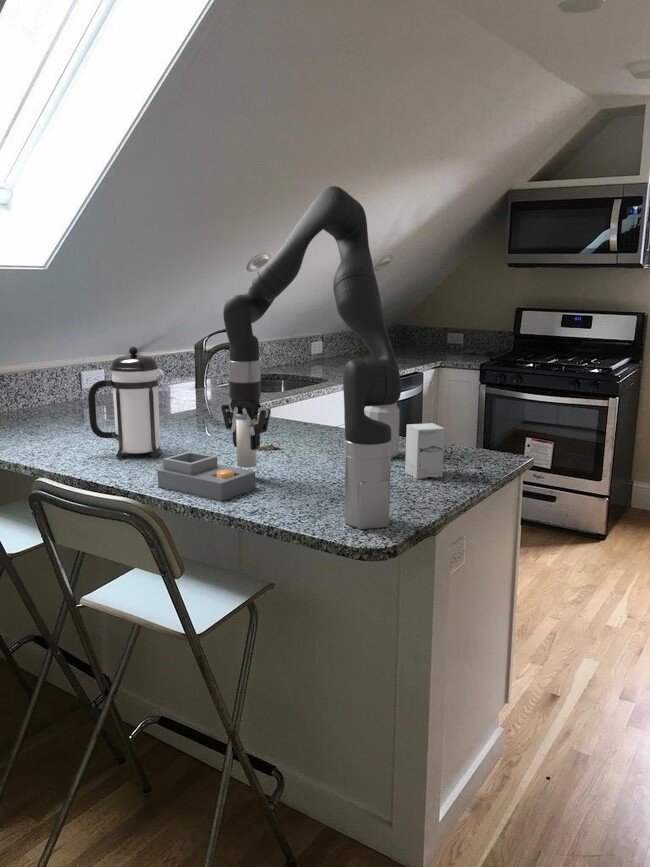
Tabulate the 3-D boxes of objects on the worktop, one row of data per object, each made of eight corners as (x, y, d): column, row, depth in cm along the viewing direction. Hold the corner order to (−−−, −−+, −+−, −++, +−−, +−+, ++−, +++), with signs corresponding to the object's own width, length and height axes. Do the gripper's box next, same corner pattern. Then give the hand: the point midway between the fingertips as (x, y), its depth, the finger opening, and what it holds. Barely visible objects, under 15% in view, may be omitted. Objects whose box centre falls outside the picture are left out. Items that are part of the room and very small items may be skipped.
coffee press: (142, 444, 217) (136, 342, 211) (177, 453, 207) (172, 346, 201) (90, 456, 204) (83, 347, 197) (125, 465, 194) (118, 351, 188)
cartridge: (238, 468, 179) (237, 415, 176) (235, 463, 183) (234, 411, 180) (258, 466, 180) (257, 414, 177) (255, 461, 184) (254, 410, 182)
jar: (401, 453, 208) (402, 389, 204) (395, 461, 199) (396, 395, 195) (367, 450, 210) (368, 388, 206) (359, 459, 201) (360, 393, 197)
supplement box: (416, 480, 181) (417, 429, 179) (404, 472, 188) (405, 423, 185) (443, 477, 183) (445, 427, 181) (431, 470, 190) (432, 422, 187)
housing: (255, 488, 174) (255, 461, 173) (221, 500, 164) (220, 472, 163) (193, 475, 185) (192, 449, 184) (158, 486, 175) (156, 460, 174)
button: (238, 488, 172) (237, 471, 171) (226, 492, 169) (226, 475, 168) (225, 485, 174) (224, 468, 173) (213, 489, 171) (213, 472, 170)
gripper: (278, 379, 176) (279, 449, 180) (232, 374, 184) (234, 441, 187) (258, 383, 170) (259, 455, 174) (211, 378, 178) (214, 447, 181)
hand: (246, 447), depth 181 cm, fingers closed on cartridge, 4 cm apart
